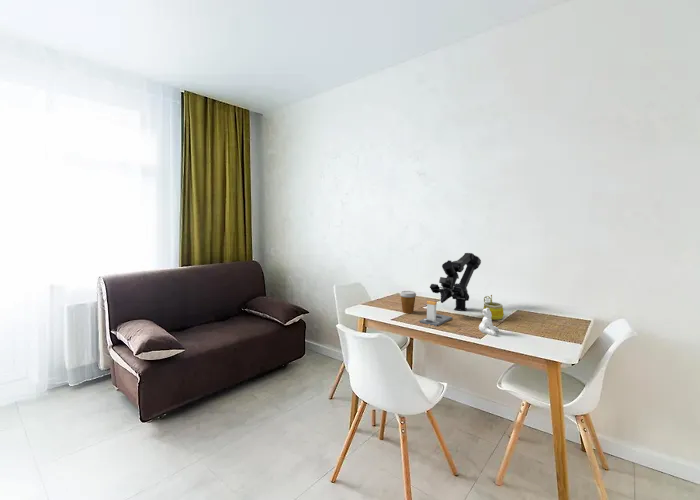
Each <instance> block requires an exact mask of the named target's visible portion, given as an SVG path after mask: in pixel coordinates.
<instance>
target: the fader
mask: <svg viewBox="0 0 700 500" xmlns="http://www.w3.org/2000/svg"><path fill="white" fill-rule="evenodd" d="M437 305H438V304H437V301H432V300H427V301H426V318H427V320H432V321H433V322H435V321H436V314H437Z"/></svg>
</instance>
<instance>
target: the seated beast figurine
mask: <svg viewBox="0 0 700 500" xmlns="http://www.w3.org/2000/svg"><path fill="white" fill-rule="evenodd" d="M481 312H482V316H483V315H484V316H483V318H482V321H481V322H480V324H479V325H478V329H479V331H480V332H481V333H483V334H485V335H489V336H492V337H496V335H497V332H499V330H500V329H499V327H498V326H495V325H493V320H491V317H492V314H491V311H490V310H489V308H486V309H483V308H482V311H481Z"/></svg>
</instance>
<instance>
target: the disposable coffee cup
mask: <svg viewBox="0 0 700 500" xmlns="http://www.w3.org/2000/svg"><path fill="white" fill-rule="evenodd" d="M399 295H400V299H401V300H400V301H401V310H402V313H403V314H413V313H414V310H415V309H414V308H415V301H416V297H417V293H416V291H411V290H402V291H400V293H399Z"/></svg>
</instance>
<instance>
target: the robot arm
mask: <svg viewBox="0 0 700 500" xmlns="http://www.w3.org/2000/svg"><path fill="white" fill-rule="evenodd" d="M481 263H482V260H481V258H480V257H479V256H477V255H475V254H474V253H472V252H465V253H464V255H462V256H461V257H460V258H459V259H457V260H454V261H452V260H449V259H448V260H447V261H445V262H443V264H442V265H441V267H442V270H443V271H444V273H445V275H446V277H442V276H439V281H438V283H439V284H440V286H439V285H438V284H436V283H431V284H430V286H429V288H430V290H431V292H432V293H433V294H440V303H441V304H443V303H445V302H446V301H448V300H449V299H450V298H452V299H453V300H455V307H454V309H453V310H454V311H462V312H463V311H464V312H466V310H467V308H468V307H466V302H467V301H470V295H469V293H468V288H467V287H468V285H469V282H470V281H471V279H472V276H473V274H474V271H475V270H477V269H479V267H480V265H481ZM465 266H466V268H465ZM464 269H465V270H464ZM462 272H464V273H463V274H462V277H461V278H460V276H459V273H462ZM458 279H460V281H459V283H457V280H458Z"/></svg>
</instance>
